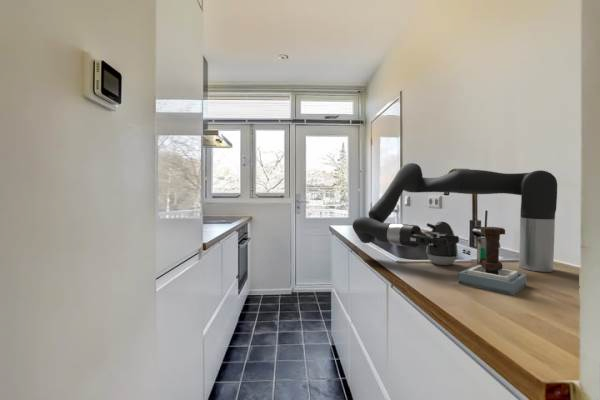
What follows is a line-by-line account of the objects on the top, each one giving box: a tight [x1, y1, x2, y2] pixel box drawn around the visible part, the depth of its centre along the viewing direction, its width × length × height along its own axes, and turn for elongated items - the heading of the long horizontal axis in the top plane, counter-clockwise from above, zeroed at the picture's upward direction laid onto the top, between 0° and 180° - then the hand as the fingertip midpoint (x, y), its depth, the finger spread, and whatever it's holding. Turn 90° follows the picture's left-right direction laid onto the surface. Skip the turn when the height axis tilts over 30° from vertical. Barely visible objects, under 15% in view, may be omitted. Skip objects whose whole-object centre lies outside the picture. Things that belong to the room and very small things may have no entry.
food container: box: [476, 236, 501, 266], centre depth 101 cm, size 12×6×10 cm, turn 154°
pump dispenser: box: [425, 221, 459, 266], centre depth 108 cm, size 10×10×15 cm
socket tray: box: [457, 265, 527, 296], centre depth 84 cm, size 13×13×4 cm
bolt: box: [480, 226, 506, 275], centre depth 84 cm, size 6×5×15 cm
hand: (452, 241), depth 92 cm, fingers open, 8 cm apart
